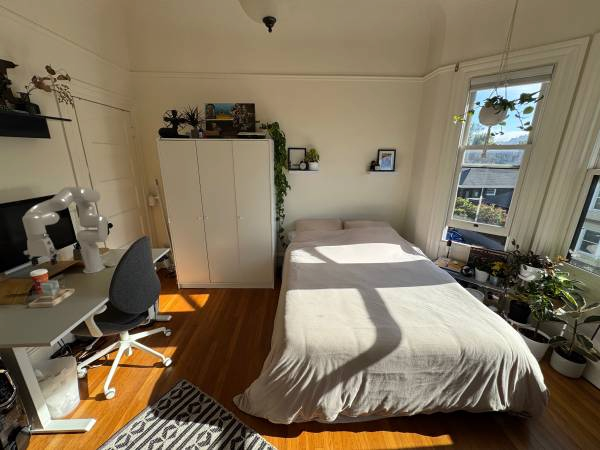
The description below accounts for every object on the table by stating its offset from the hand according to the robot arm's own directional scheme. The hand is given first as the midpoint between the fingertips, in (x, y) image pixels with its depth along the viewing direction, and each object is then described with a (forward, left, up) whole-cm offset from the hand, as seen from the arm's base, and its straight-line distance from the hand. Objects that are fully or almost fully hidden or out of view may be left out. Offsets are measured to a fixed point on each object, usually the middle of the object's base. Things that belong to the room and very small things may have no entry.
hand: (45, 264), depth 138 cm
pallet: (0, 0, -20) cm, 20 cm away
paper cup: (-9, -13, -23) cm, 28 cm away
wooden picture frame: (+1, 0, -22) cm, 22 cm away
